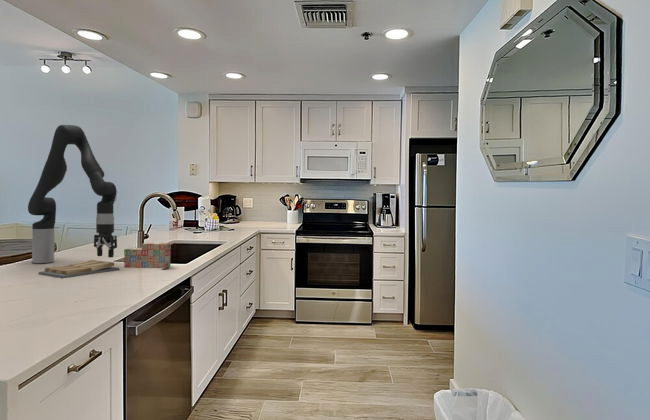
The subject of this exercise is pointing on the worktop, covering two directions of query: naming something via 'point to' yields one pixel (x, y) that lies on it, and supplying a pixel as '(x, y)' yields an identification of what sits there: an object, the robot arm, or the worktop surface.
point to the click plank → (93, 264)
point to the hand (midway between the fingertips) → (105, 256)
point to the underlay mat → (78, 273)
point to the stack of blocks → (148, 256)
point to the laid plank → (68, 269)
